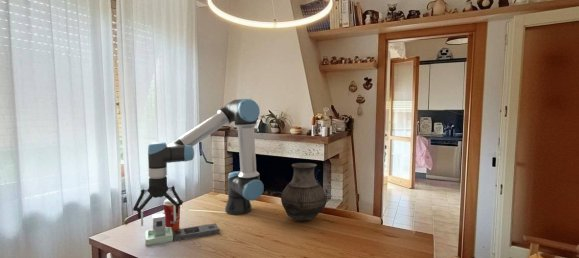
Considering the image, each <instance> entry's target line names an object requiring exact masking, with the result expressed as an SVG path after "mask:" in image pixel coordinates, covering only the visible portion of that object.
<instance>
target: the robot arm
mask: <svg viewBox="0 0 579 258" xmlns="http://www.w3.org/2000/svg"><path fill="white" fill-rule="evenodd" d="M260 110H261V109H260V106H259V104H258V103H257V102H256V101H255V100H253V99H251V98H250V99H249V98H241V99H234V100H231V101H229V102H228V103H226V104H225V105H224V106H222V107H221V108H220V109H217V112H216V113H215V114H214V115H212V116H210V117H209V118H208V119H206V120H204V121H203V122H201V123H200V124H198V125H196V126H195V127H194V128H192V129H191V130H189V131H187V132H185V133H184V134H183V135H181V136H180V137H178V138H176V139H175V140H174V141H171V142H160V141H156V142H150V143H149V144H148V149H147V158H148V159H147V161H148V177H149V178H148V188H144V187H142V188H141V190H140V194H139V196H138V199H137V200H136V201H135V204H134V206H133V208H132V210H133V212H137V219H138V220H140V226H141V227H143V226H144V210H143V209H144V208H145V207H146V205H147V204H148V203H149V202H150V201H151V200H152V199H153V198H155V199H156V198H163V197H165V198H166V199H168V200H169V201H170V202H171V203H173V204H174V205H175V206H174V221H176V214H177V213H178V207H179V206H180V207H181V206H183V201H182V199H181V198H180V196H179V194H178V193H177V191H176V190H175V185H174V184H172V185H170V186H168V177H167V176H168V165H167V164H168V163H169V164H170V163H180V162H190V161H193V159H194V157H195V150H194V146H196V145H197V144H199V143H200V142H201V141H203V140H204V139H206V138H207V137H210V135H212V134H213V133H215V132H216V131H217V130H219V129H221V128H222V127H224V126H225V125H228V126H229V124H231V123H233V122H234V126H235V127H236V128H237V134H238V135H237V136H238V151H239V154H238V155H239V168H240V169H239V171H232V172H229V173H228V176H227V184H228V185H227V189H228V190H227V193H228V196H227V197H228V198H227V202H226V204H225V208H224V209H225V210H224V211H225V213H226V214H228V215H231V216H232V215H233V216H235V215H236V216H238V215H240V216H241V215H246V214H249V213H250V212H252V204H251V201H257V200H258V199H259V198H261V196H262V195H263V193H264V188H265V187H264V183H263V181H261V180H260V173H259V172H258V171H257V157H256V143H255V142H256V141H255V140H256V139H255V127H256V125H257V124H258V123H257V120H258V118H259V117H260V113H261V112H260ZM168 190H169V191H170V192H172V193H173V196H174V197H171V195H170V194H169V193H168ZM147 192H148V193H149V194H148V196H147V197H146V198H145V200H143V198H144V195H146V194H147ZM173 198H176V199H177V201H178V203H177V202H176V201H175V200H174V199H173ZM142 200H143V202H142ZM141 202H142V203H141ZM140 203H141V204H140Z"/></svg>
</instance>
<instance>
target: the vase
mask: <svg viewBox="0 0 579 258" xmlns="http://www.w3.org/2000/svg"><path fill="white" fill-rule="evenodd" d="M317 166H318V164H317V163H311V162H296V163H292V164H291V167H292V168H293V175H292V179H291V181H290V182H288V184H286V186H285V188H283V190H282V192H281V195H280V201H281V206H282V207H283V209H284V211H285V213H286V215H287V216H288V217H289V218H291V219H292V220H294V221H295V220H296V221H299V222H307V221H310V220H313V219H314V218H315V217H316V216H318V215H319V214H320V213H321V212H322V211H323V210H324V208H325V207H326V205H327V201H328V200H327V199H328V198H327V194H326V192H325V190H324V189H323V187H322V185H321V184H320V183H319V182H317V179H316V177H315V169H316V167H317Z"/></svg>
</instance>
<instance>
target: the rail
mask: <svg viewBox="0 0 579 258" xmlns="http://www.w3.org/2000/svg"><path fill="white" fill-rule="evenodd" d="M172 233H173V241H174V242H177V241H182V240H188V239H193V238H199V237H205V236H206V237H207V236H212V235H216V234H217V235H219V234H220V228H219V226H218V225H217V223H216V222H215V223H209V224H208V223H207V224H201V225H196V226H189V227H183V228H179V229H176V230H173V232H172Z"/></svg>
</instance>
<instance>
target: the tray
mask: <svg viewBox="0 0 579 258" xmlns="http://www.w3.org/2000/svg"><path fill="white" fill-rule="evenodd" d="M165 228H166V236H161V237H155V238H153V228H152V229H146V230H145V246H151V245H156V244H163V243H167V242H168V243H169V242H173V241H174V237H173V232H172V228H171V227H166V226H165Z"/></svg>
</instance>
